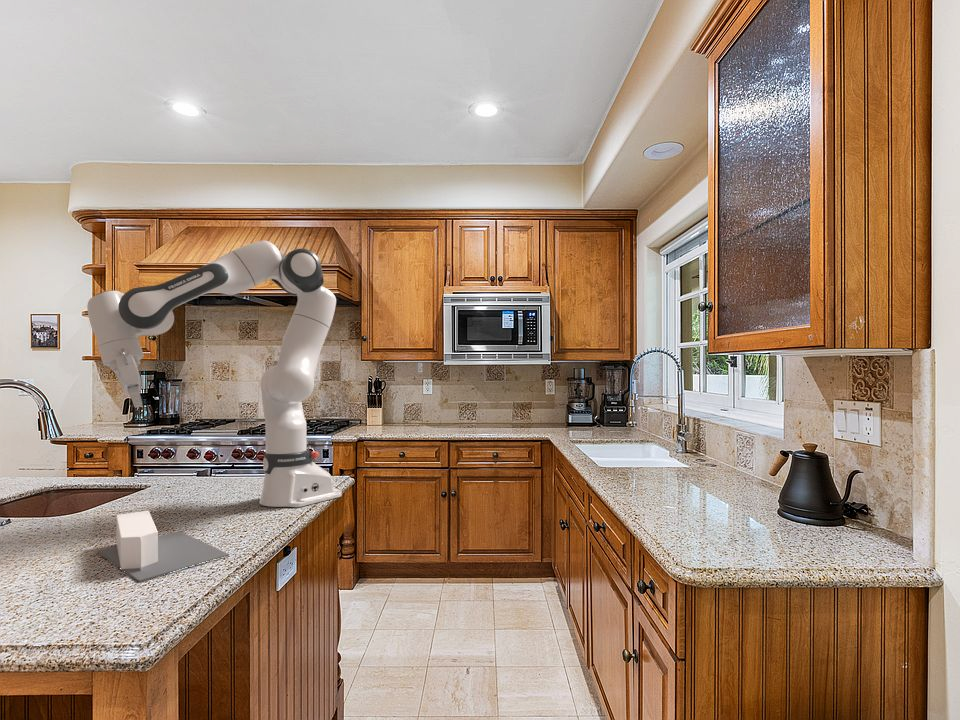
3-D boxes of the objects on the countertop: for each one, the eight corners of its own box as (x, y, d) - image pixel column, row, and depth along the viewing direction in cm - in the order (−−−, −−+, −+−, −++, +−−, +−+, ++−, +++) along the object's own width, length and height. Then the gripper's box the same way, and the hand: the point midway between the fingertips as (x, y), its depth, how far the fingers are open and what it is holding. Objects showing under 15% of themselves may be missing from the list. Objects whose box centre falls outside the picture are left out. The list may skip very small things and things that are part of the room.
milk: (116, 542, 112) (120, 575, 94) (116, 514, 112) (120, 542, 95) (149, 536, 116) (159, 567, 98) (149, 509, 116) (159, 535, 98)
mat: (96, 552, 107) (96, 550, 107) (179, 532, 119) (179, 531, 119) (139, 582, 92) (139, 580, 92) (229, 556, 105) (229, 554, 105)
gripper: (136, 343, 124) (154, 397, 124) (136, 358, 141) (152, 407, 141) (105, 349, 121) (123, 405, 120) (109, 364, 137) (124, 414, 137)
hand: (138, 406), depth 131 cm, fingers closed
